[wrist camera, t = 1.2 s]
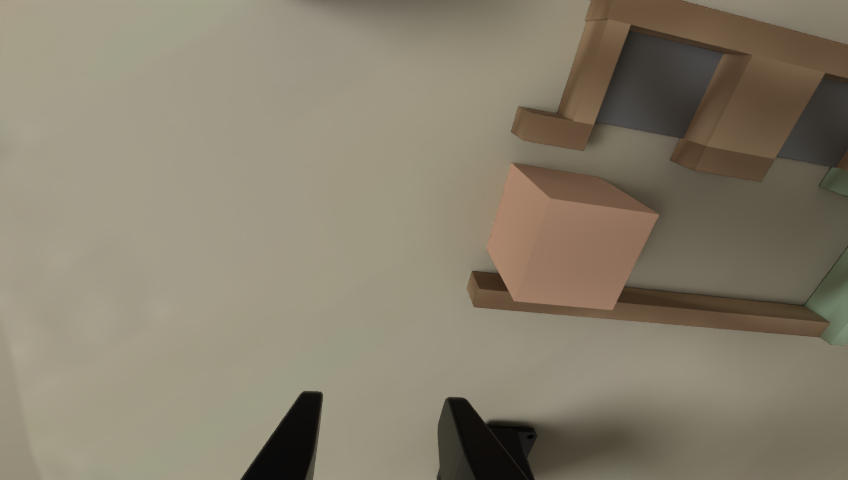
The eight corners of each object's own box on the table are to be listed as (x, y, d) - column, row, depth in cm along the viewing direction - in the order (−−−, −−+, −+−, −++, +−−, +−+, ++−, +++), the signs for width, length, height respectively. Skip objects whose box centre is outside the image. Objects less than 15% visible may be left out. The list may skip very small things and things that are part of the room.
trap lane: (806, 321, 28) (844, 345, 26) (467, 288, 23) (476, 315, 21) (984, 90, 21) (1055, 96, 19) (554, -22, 16) (582, -32, 14)
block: (566, 257, 23) (612, 310, 19) (486, 248, 22) (514, 301, 18) (599, 176, 21) (659, 214, 16) (511, 162, 20) (550, 198, 16)
